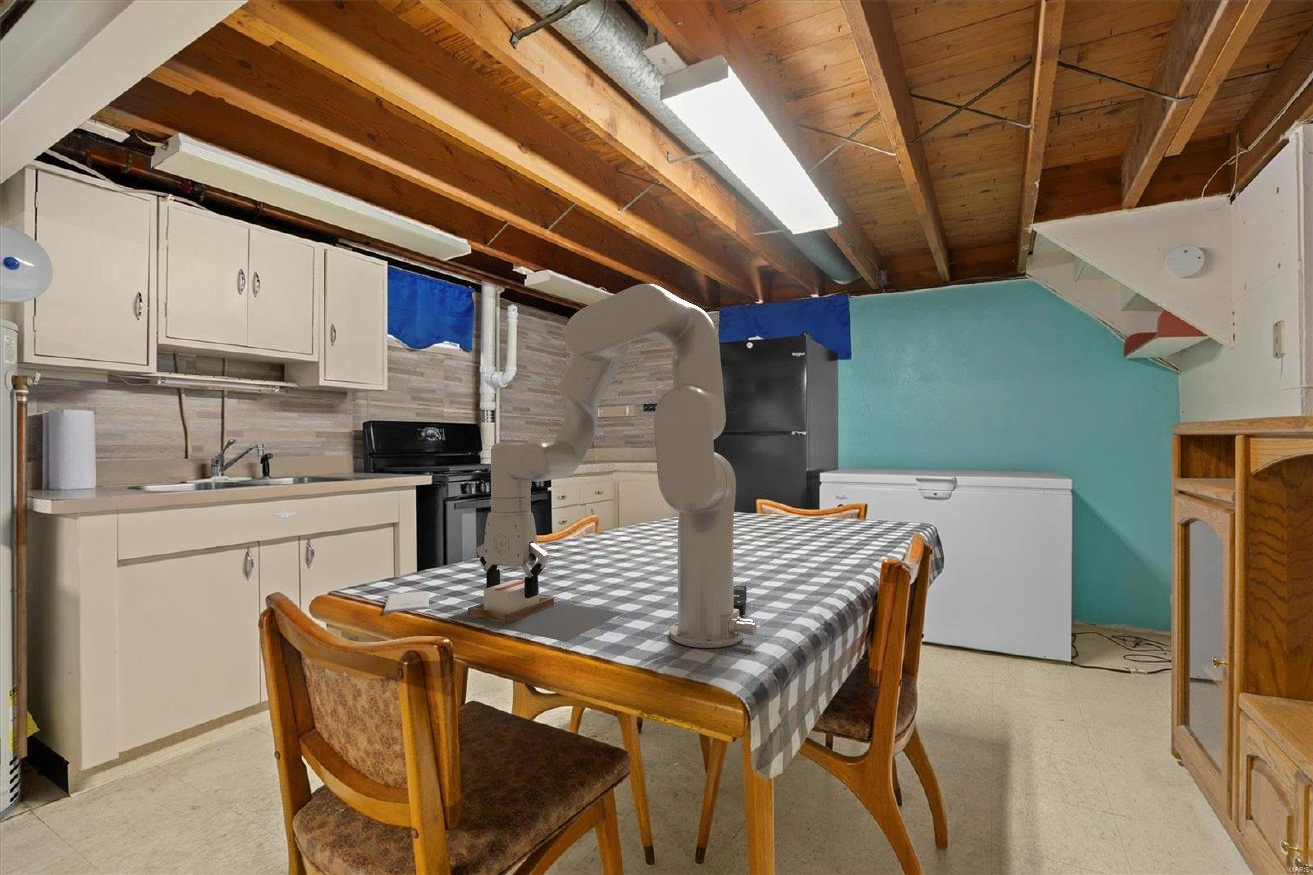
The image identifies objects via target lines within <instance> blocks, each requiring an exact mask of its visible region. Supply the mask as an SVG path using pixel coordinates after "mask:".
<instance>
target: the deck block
mask: <svg viewBox="0 0 1313 875" xmlns="http://www.w3.org/2000/svg"><path fill="white" fill-rule="evenodd" d="M539 596H540V582H538V595H536V596H534V597H531V598H525V589H524V579H523V580H522V579H514V580H509V581H506V582H504V583H500V585H496V586H493V587H490V588H487V589H486V588H484V589H483V603H484V609H485V610H491V611H497V612H502V613H511V612H513V611H516V610H519V609H521V608H524V607H527V606H529V605H532V604H535V603H537V602H539Z"/></svg>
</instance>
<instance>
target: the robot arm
mask: <svg viewBox="0 0 1313 875" xmlns="http://www.w3.org/2000/svg"><path fill="white" fill-rule="evenodd" d="M641 338H647V339H649V340H652V341H655V342H657V343H661V344H665V345H669V346H670V347H671V348H672V358H671V373H672V374H671V375H672V387H671V388H669V389H668V390H666V391H665V392H664V393H663V394H662V395H661V396H660V398H659V400H658V401H657V404H656V407H655V411H654V416H653V429H654V430H653V431H654V442H655V443H654V446H655V458H656V459H655V461H656V470H657V472H656V473H657V481H658V487H659V491H660V493H661V496H662V498H663V500H664V501H665V502H666V504H667V505H668V506H669V507H670V508H672V509H673V510H675V511H678V520H677V521H678V522H677V547H676V548H677V622H675V623H674V624H672V625H671V626H670V627H669V630H668V635H669V636H668V637H670V639H671V640H672V641H674V642H675V643H677V644H679V645H683V646H686V647H689V648H690V647H693V648H697V649H698V648H703V649H717V648H724V647H730V646H733V645H736V644H738V643H739V642H741V641H742V640H743V638H744V635H747V636H756V634H757V631H758V626H757V623H756V622H755V620H754V619H751V618H750V619H748V618H742V616H739V609H734V586H735V584H734V521H735V520H734V519H735V518H734V517H735V504H736V496H737V495H736V494H737V481H736V480H737V479H736V475H735V472H734V471H735V470H734V469H733V467H732V464H731V463H730V462H729V460H727V459H726V458H725V457H724V456H723V455H721V454H720V453H717V452H715V446H714V440H716V439H717V438H719V436H720V435H721V434H722V433H723V431H724V430H725V426H726V422H727V413H726V411H727V410H726V406H725V405H726V404H725V392H724V382H723V372H722V362H721V350H720V349H721V348H720V341H719V339H720V338H719V334H718V331H717V328H716V325H715V323H714V322H713V320H712V318H711V317H710V316H709V314H707V312H706V311H704V310H703V309H702V308H700V307H698V306H696V305H694V304H692V303H689V302H688V301H686V300H683V299H681V298H680V297H678V296H676V295H674V294H672V293H671V292H669V291H667V290H666V289H664V288H662V287H660V286H658V285H656V284H653V283H652V284H651V283H650V284H649V283H642V284H641V283H640V284H636V285H633V286H631V287H629V288H626V289H623V290H621V291H619V292H617V293H614V294H612V295H610V296H607V297H606V298H602V299H600V300H598V301H596V302H593V303H592V304H589V305H587V306H584V307H583V308H581V309H580V310H578V311H577V312H575V313H574V314H573V315H572V316H571V317H570V319H569V320H568V322H567V323H566V325H565V329H564V343H565V345H566V347H567V349H568V351H570V353H572V354H573V355H572V356H571V359H570V361H569V363H568V365H567V366H566V369H565V370H564V372H563V374H562V376H561V378H560V380H559V381H558V384H557V391H558V394H559V395H560V396H561V398H562V400H563V402H564V404H565V417H564V421H563V423H562V425H561V428H560V429H559V431H558V433H557V435H556V437H555V438H554V440H543V441H542V440H541V441H538V440H537V441H529V442H514V441H513V442H497V443H494V444H493V445H492V446H491V449H490V492H491V493H490V495H491V496H490V499H489V501H488V504H489V506H491V507H490V512H488V514H487V517H486V523H485V530H484V542H483V544H481V545H480V546H477V547H476V551H477V555H478V556H479V561H480V563H481V565H482V566H483V571H484V572H486V573H485V576H486V577H485V578H486V580H485V581H486V584H485V585H486V588H485V589H487V588H490V587H493V586H496V585H500V584H501V571H500V569H499V566H502V567H510V568H520V567H521V568H522V569H523V571H524V573H525V574H526V577H524V579H523V580H524V589H525V598H531V597H534V596H536V595H538V583H539V575H541V574H542V571H543V570H544V569H545V568H546V563H547V562H548V559H549V557H550V556H549V553H547V551H545V550H544V549H543V548H541V547H540V546H538V539H537V529H536V522H535V517H534V514H533V512H532V508H531V507H532V503H531V502H532V495H531V492H532V491H531V488H532V486H531V485H532V484H531V483H532V482H545V481H551V480H559V479H564V478H568V477H569V476H571V475H572V474H574V473H575V471H577V470H578V469H579V467H580V465H582V463H583V461H584V458H585V457H586V455H587V453H588V451H589V449H590V448H591V446H592V443H593V441H594V439H595V434H596V431H597V427H598V420H599V419H598V418H599V407H600V405H601V403H602V401H603V399H604V397H605V396H606V393H607V391H608V390H609V387H610V386H611V384H612V382H613V380H614V379H615V376H616V375H617V373H618V371H619V369H620V367H621V365H622V363H623V362H624V360H625V358H626V356H627V354H628V351H629V349H630V347H631V342H633V341H635V340H638V339H641Z"/></svg>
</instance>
